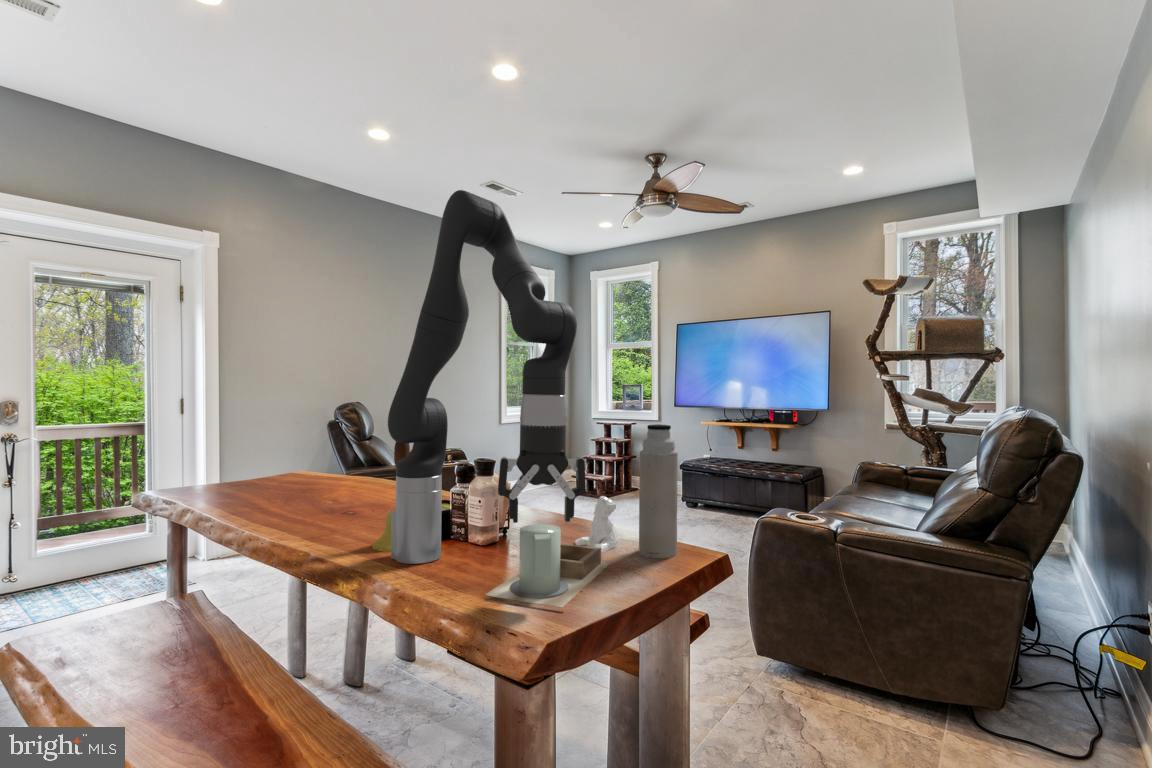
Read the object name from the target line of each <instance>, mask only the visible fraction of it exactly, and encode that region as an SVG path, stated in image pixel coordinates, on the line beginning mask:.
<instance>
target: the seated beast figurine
mask: <svg viewBox="0 0 1152 768" xmlns="http://www.w3.org/2000/svg"><path fill="white" fill-rule="evenodd" d="M616 506H617V505H616V504H615V503H614V502H613V500H612V499H610V498H608V497H606V496H605V495H600V496H599V498H598V499H597V501H596V504H595V508H594V511H593V519H592V522H591V523H590V529H591V530H590V535H589V536H582V537H579V538H577V539H575V540H574V545H579V546H588V547H596V548H601V554H602V553H605V552H608V551H609V550H612V549H615V548H616V547H617V546H618V545H619V540H620V539H619V537H618V535H617V534H616V531H615V528H614V524H613V522H612V519H611V518H610V516H611V514H613V513H614V512H615V510H616V509H617V507H616Z"/></svg>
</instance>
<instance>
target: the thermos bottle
mask: <svg viewBox="0 0 1152 768" xmlns="http://www.w3.org/2000/svg"><path fill="white" fill-rule="evenodd" d="M671 429H672V426H671V425H669V424H656V423H655V424H648V425H647V432H646V433H647V434H646V438H644V439H643V440H642V449H641V450H639V482H638V483H639V486H638V487H639V489H638V491H639V493H638V495H639V498H638V499H639V500H638V501H639V502H638V507H639V508H638V512H639V513H638V523H639V524H638V553H639V554H640V555H641V556H642V557H643V556H644V557H646V558H653V559H670V558H674V557H676V556H677V555H678V478H679V477H678V476H679V475H678V473H679V471H678V467H679V466H678V463H679V461H678V455H679V454H678V451H677V450H675V448H676V444H675V440H673V439H672V438H671V431H670V430H671Z"/></svg>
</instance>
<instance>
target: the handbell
mask: <svg viewBox="0 0 1152 768" xmlns="http://www.w3.org/2000/svg"><path fill="white" fill-rule="evenodd" d="M393 449H394V451H393V452H394V453H393V454H394V456H393V458H394V459H393V461H394V466H395V467H396V465H397V463H398V461H399V460H401V459H403V458H404V457H405V456H407V455H408V454H409V453H410V452H411V447H410V443H399V442H396V441H395V444H394V447H393ZM394 511H396V506H395V507H394V508H393V510H390V511H389V512H388V513H387V514H386V515H385V516H386V517H385V529H384V531H383V533H382V534H381V536H380V537H379V538H378V539H377V540H376V541H374V542H373V544H372V549H373V550H374V551H379V552H382V551H383V552H384V553H391V514H392V512H394Z"/></svg>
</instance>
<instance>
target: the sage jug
mask: <svg viewBox="0 0 1152 768" xmlns="http://www.w3.org/2000/svg"><path fill="white" fill-rule="evenodd" d="M561 533H562V532H561V528H560V527H559V526H557V525H553V524H541V523H539V524H536V523H535V524H529V525H524V526H522V527H520V528H519V557H518V558H519V560H518V562H519V563H518V565H519V567H518V568H519V569H518V571H519V572H518V573H519V590H520V591H521V592H523V593H526V594H530V595H548V594H552V593H555V592H557V591H559V590H560V546H561V539H562V538H561V537H562V536H561Z"/></svg>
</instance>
